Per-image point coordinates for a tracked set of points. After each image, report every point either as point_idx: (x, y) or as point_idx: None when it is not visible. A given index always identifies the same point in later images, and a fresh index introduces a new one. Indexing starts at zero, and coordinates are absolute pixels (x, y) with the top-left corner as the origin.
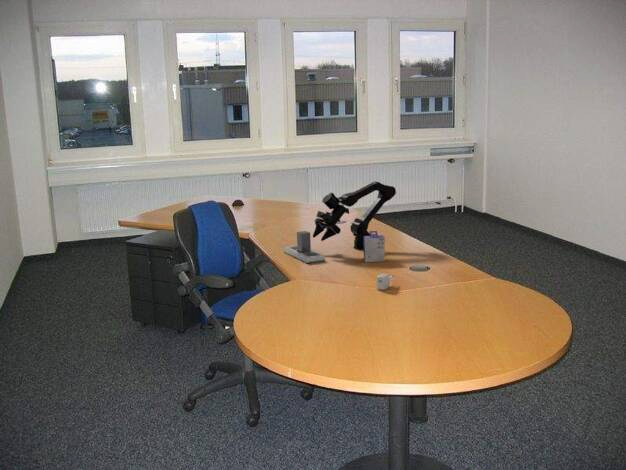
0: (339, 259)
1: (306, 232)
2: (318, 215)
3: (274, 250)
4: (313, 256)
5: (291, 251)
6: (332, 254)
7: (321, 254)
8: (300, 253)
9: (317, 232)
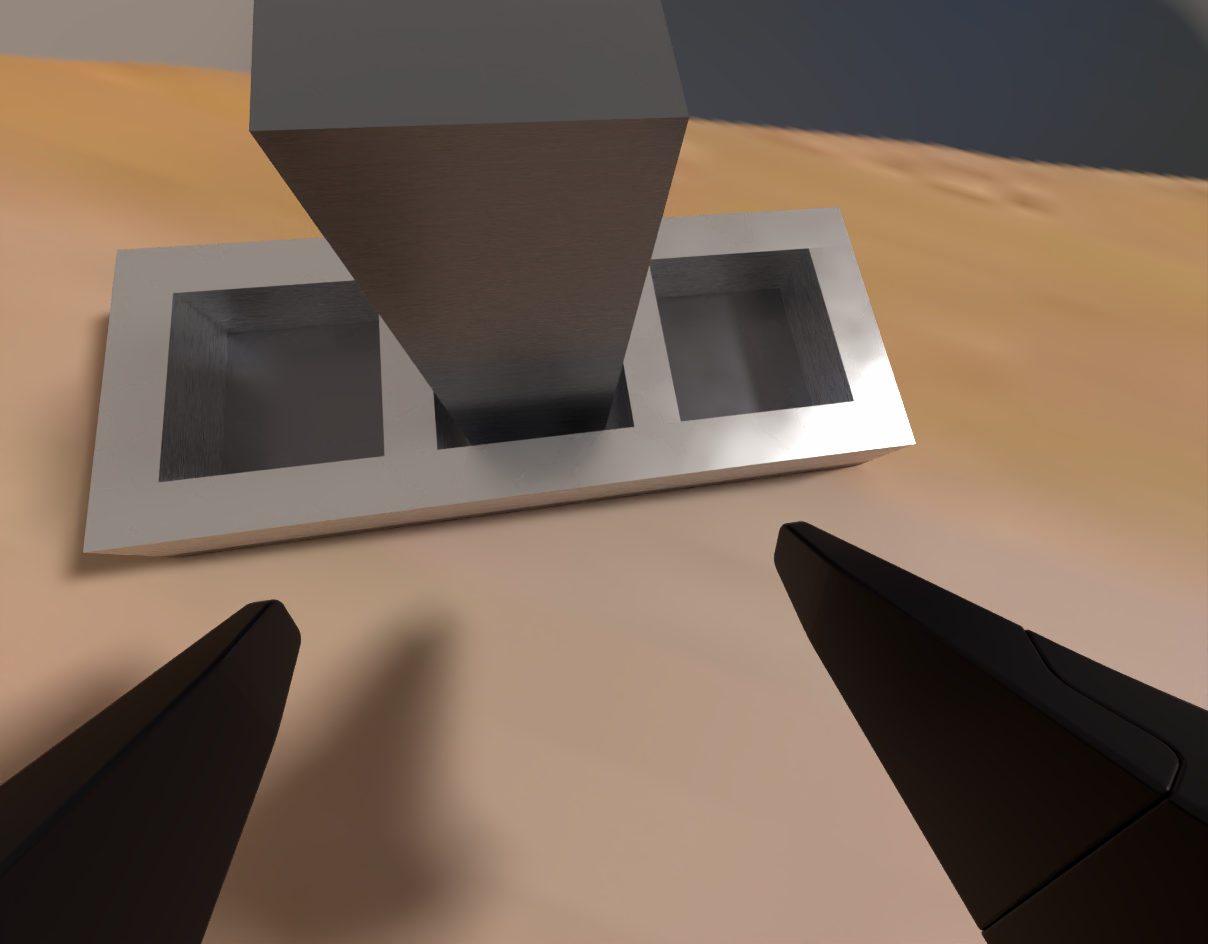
0: None
1: (389, 38)
2: None
3: (930, 209)
4: (127, 358)
5: None
6: (485, 804)
7: (166, 513)
8: None
9: (907, 712)
